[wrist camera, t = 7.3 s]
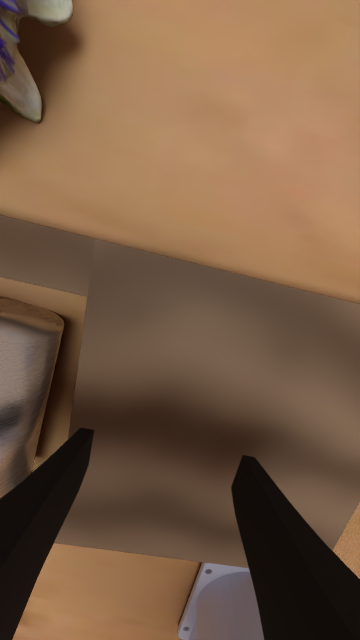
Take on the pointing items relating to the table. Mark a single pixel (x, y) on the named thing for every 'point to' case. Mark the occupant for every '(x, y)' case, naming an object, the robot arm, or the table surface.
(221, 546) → the grey brown board
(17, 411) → the roller
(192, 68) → the table surface
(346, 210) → the table surface
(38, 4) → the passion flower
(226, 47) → the table surface
